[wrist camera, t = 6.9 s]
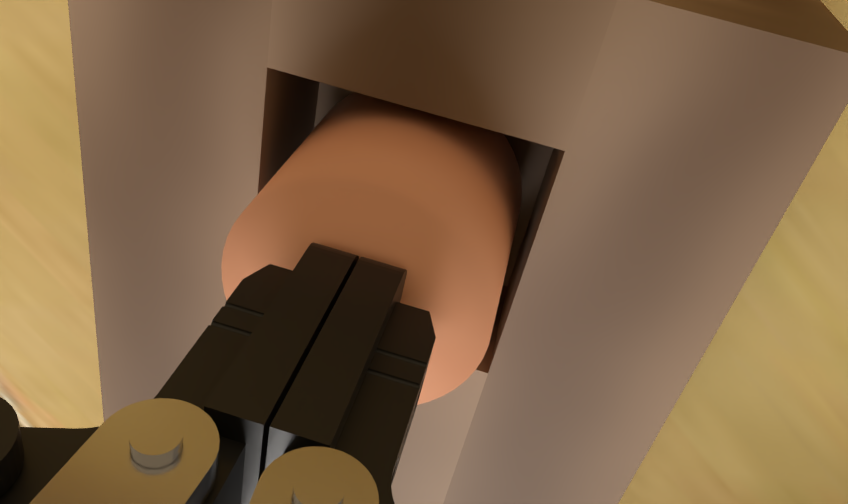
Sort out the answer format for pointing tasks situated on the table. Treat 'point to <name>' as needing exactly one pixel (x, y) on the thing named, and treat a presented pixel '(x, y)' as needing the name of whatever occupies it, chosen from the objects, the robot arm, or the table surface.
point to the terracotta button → (397, 217)
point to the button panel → (540, 206)
